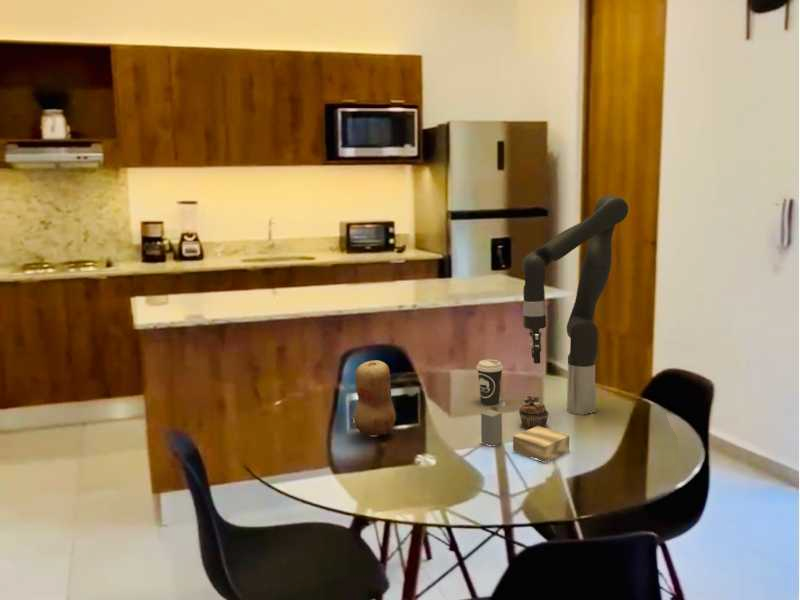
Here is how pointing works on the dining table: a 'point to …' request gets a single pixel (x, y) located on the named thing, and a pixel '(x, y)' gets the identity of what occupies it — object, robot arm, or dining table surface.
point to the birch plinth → (541, 443)
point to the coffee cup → (489, 381)
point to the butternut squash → (374, 399)
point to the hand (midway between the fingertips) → (536, 360)
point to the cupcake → (533, 413)
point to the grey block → (491, 427)
